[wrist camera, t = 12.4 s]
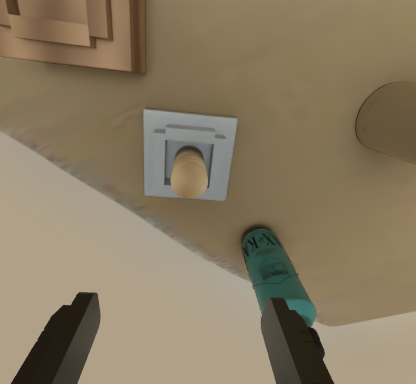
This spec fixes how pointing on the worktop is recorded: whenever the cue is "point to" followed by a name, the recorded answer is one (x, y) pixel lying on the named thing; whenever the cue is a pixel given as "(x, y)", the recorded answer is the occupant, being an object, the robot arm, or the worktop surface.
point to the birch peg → (189, 173)
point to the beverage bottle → (277, 277)
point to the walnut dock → (76, 32)
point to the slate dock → (182, 136)
